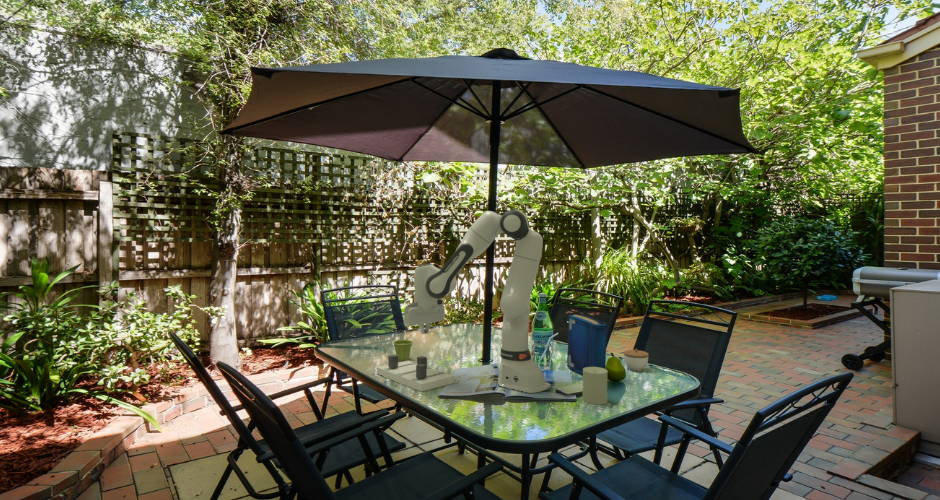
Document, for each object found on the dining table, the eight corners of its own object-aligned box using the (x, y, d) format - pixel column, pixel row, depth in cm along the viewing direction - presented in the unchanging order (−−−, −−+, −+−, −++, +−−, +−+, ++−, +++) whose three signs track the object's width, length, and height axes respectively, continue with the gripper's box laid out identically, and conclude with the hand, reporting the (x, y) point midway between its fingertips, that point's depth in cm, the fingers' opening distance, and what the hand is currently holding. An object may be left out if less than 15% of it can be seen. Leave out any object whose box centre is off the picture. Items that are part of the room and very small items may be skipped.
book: (608, 379, 218) (609, 321, 217) (594, 381, 215) (595, 322, 214) (579, 366, 238) (580, 313, 237) (566, 368, 235) (567, 314, 234)
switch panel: (454, 382, 212) (454, 375, 212) (421, 391, 201) (421, 383, 200) (408, 366, 235) (408, 360, 235) (376, 374, 224) (376, 366, 224)
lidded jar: (643, 366, 239) (644, 346, 239) (651, 373, 229) (651, 352, 228) (620, 366, 240) (621, 346, 239) (627, 372, 229) (627, 351, 229)
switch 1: (398, 367, 222) (398, 356, 222) (392, 368, 220) (392, 357, 220) (394, 365, 225) (394, 354, 224) (388, 367, 223) (388, 355, 222)
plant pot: (416, 359, 250) (416, 341, 249) (404, 363, 242) (404, 345, 241) (401, 356, 254) (401, 339, 254) (389, 360, 246) (389, 342, 246)
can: (583, 403, 188) (583, 371, 188) (581, 395, 197) (581, 364, 197) (608, 405, 187) (609, 372, 186) (605, 396, 196) (606, 366, 196)
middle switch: (426, 368, 221) (426, 357, 220) (421, 370, 218) (421, 358, 218) (422, 367, 223) (422, 355, 222) (417, 368, 221) (417, 357, 220)
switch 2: (426, 377, 208) (426, 365, 207) (420, 379, 206) (420, 366, 205) (421, 375, 210) (422, 363, 210) (416, 377, 208) (416, 365, 208)
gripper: (409, 305, 210) (409, 338, 211) (446, 300, 224) (447, 331, 225) (400, 303, 215) (400, 336, 216) (437, 298, 229) (437, 329, 230)
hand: (424, 333), depth 220 cm, fingers closed
